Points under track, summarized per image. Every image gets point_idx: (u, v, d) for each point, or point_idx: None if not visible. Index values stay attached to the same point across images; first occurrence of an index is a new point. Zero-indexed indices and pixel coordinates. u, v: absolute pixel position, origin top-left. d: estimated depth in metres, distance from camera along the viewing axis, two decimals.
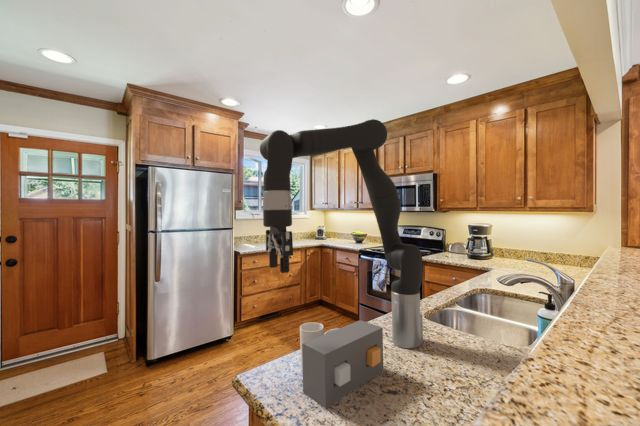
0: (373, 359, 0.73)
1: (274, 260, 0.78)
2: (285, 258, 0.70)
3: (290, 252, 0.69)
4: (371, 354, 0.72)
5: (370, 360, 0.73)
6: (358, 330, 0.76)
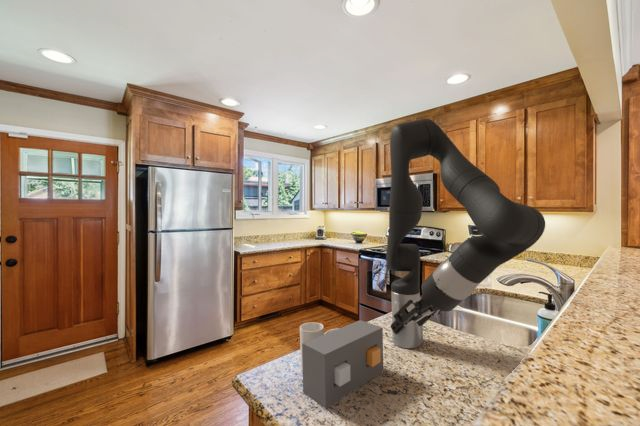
0: (373, 359, 0.73)
1: None
2: None
3: None
4: (371, 354, 0.72)
5: (370, 360, 0.73)
6: (358, 330, 0.76)
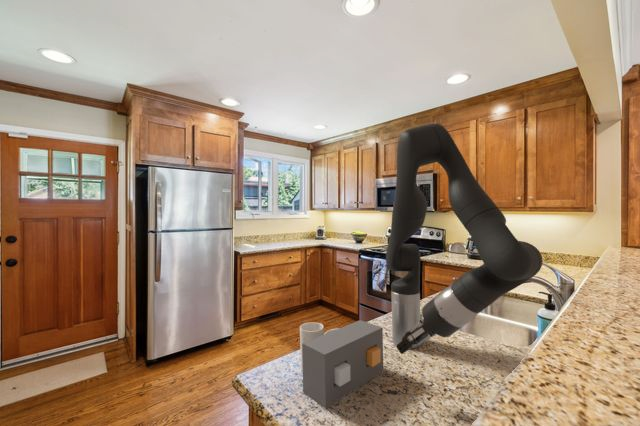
0: (373, 359, 0.73)
1: None
2: None
3: None
4: (371, 354, 0.72)
5: (370, 360, 0.73)
6: (358, 330, 0.76)
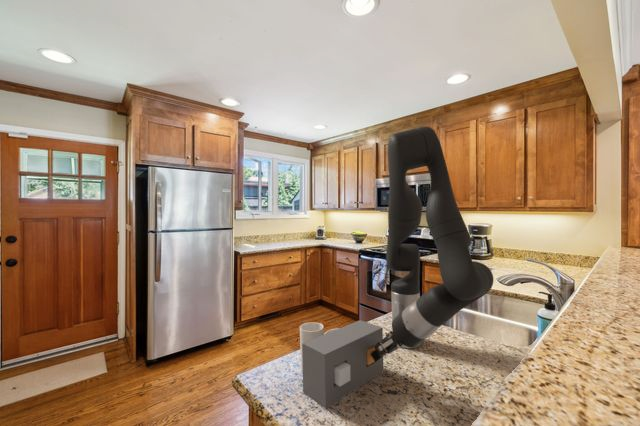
0: (369, 357, 0.74)
1: None
2: None
3: None
4: (367, 352, 0.73)
5: (366, 358, 0.74)
6: (358, 330, 0.76)
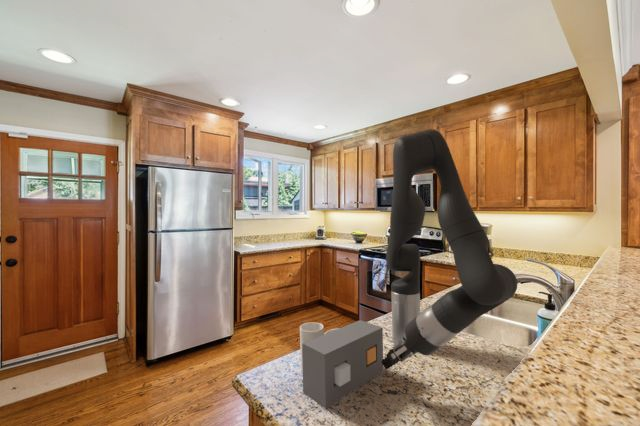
0: (368, 357, 0.74)
1: None
2: None
3: None
4: (366, 352, 0.74)
5: (366, 358, 0.74)
6: (358, 330, 0.76)
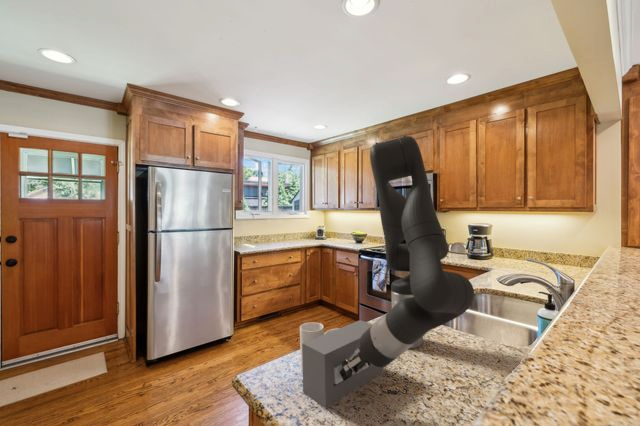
0: None
1: None
2: None
3: None
4: None
5: None
6: (358, 330, 0.76)
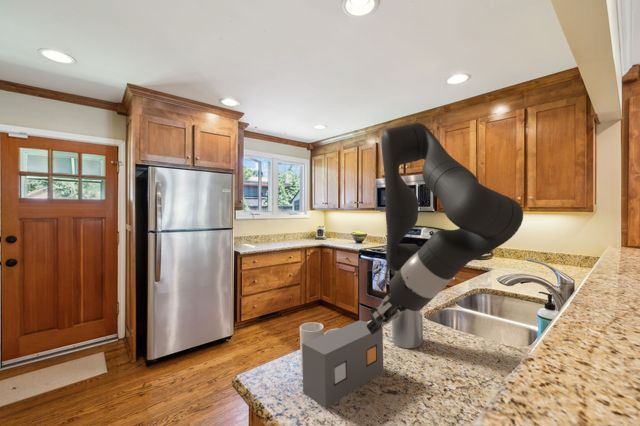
0: (368, 357, 0.74)
1: None
2: None
3: None
4: (366, 352, 0.74)
5: (366, 358, 0.74)
6: (358, 330, 0.76)
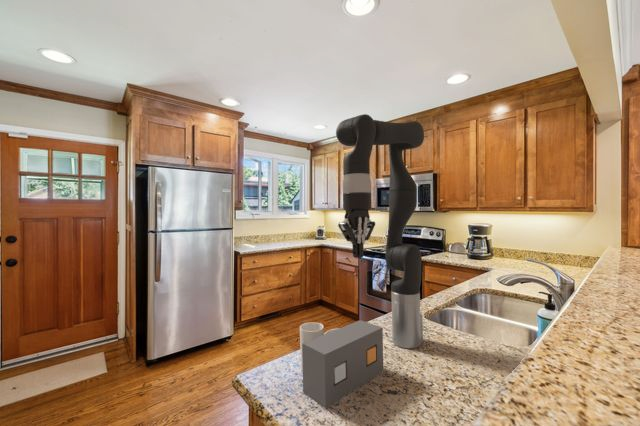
0: (368, 357, 0.74)
1: None
2: None
3: None
4: (366, 352, 0.74)
5: (366, 358, 0.74)
6: (358, 330, 0.76)
